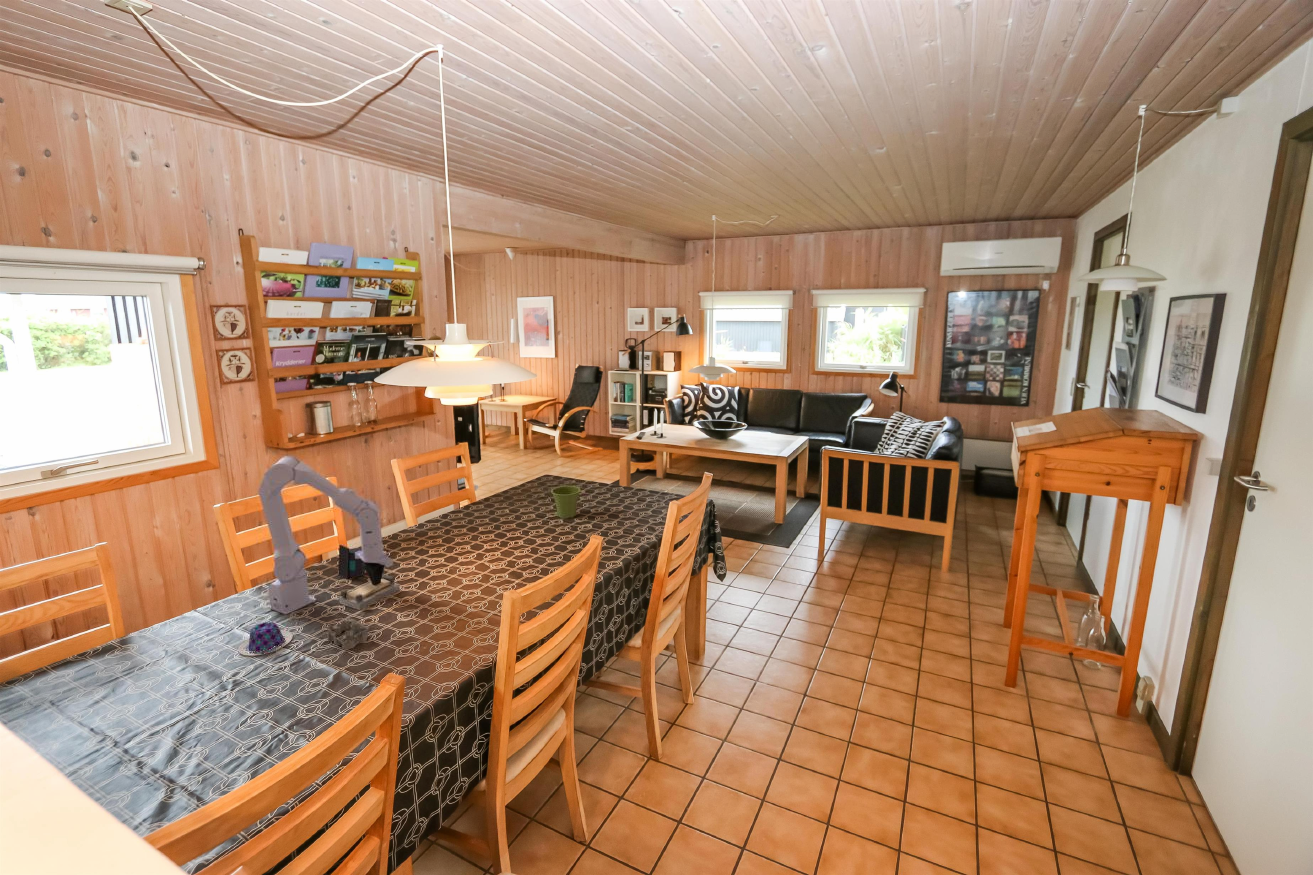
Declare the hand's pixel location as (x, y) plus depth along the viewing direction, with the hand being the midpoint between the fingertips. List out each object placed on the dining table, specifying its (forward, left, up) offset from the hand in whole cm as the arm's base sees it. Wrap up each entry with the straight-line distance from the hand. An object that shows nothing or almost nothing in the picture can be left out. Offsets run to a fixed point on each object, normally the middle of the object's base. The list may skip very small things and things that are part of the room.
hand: (376, 583), depth 185 cm
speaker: (+5, +18, -3) cm, 19 cm away
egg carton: (-21, -15, -4) cm, 26 cm away
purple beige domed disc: (-33, +2, -4) cm, 33 cm away
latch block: (-3, 0, -3) cm, 4 cm away
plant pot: (+82, -12, -3) cm, 83 cm away
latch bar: (-3, 0, -1) cm, 3 cm away
